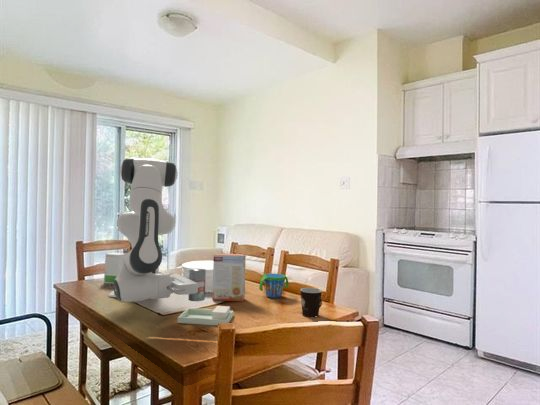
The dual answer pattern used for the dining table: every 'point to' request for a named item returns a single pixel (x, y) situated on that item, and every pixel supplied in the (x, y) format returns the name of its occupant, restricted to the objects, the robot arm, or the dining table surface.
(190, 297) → the tin
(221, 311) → the white rectangular block
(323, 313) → the dining table surface
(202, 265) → the plate stack
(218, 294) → the cracker box
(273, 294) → the snack cup
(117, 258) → the skincare box
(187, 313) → the pale green tray
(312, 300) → the coffee mug
